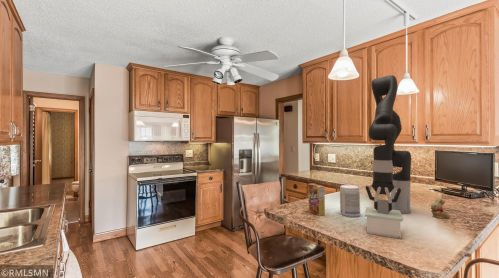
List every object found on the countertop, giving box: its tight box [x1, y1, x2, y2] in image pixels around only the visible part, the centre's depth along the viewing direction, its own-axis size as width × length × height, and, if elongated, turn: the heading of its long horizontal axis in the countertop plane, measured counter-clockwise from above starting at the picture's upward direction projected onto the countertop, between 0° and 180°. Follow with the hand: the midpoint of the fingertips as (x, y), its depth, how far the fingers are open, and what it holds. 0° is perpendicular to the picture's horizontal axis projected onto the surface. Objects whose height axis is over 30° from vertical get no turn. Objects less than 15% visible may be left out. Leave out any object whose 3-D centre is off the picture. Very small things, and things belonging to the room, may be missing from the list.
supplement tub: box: [339, 184, 361, 218], centre depth 129 cm, size 10×10×15 cm
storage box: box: [366, 217, 402, 239], centre depth 105 cm, size 12×12×7 cm
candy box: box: [307, 183, 326, 217], centre depth 131 cm, size 9×4×15 cm, turn 23°
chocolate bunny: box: [430, 197, 451, 220], centre depth 124 cm, size 6×8×10 cm
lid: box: [364, 198, 404, 223], centre depth 105 cm, size 14×14×7 cm
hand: (382, 210), depth 105 cm, fingers closed on lid, 4 cm apart
